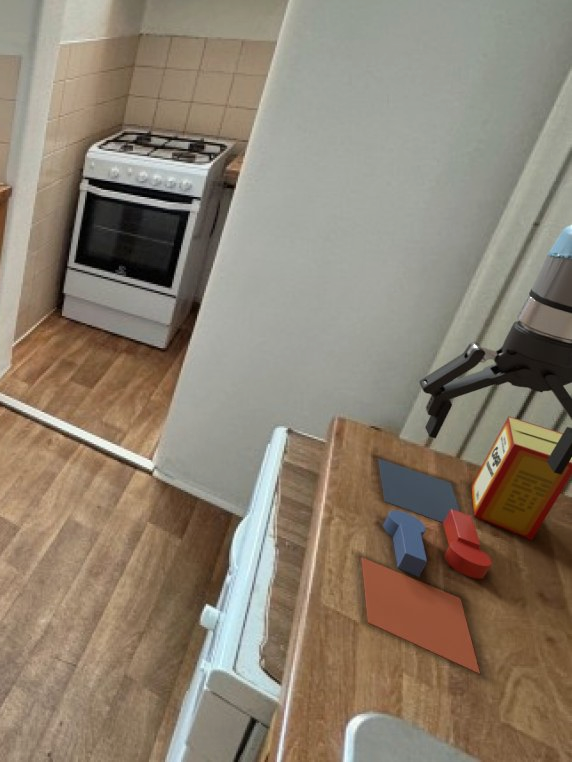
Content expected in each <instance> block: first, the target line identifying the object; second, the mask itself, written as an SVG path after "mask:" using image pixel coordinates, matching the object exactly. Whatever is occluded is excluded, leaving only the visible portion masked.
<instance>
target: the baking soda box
mask: <svg viewBox="0 0 572 762" xmlns="http://www.w3.org/2000/svg"><path fill="white" fill-rule="evenodd" d="M563 433H564V432H560V431H557V430H553V429H550V428H547V427H544V426H541V425H538V424H535V423H531V422H528V421H525V420H522V419H519V418H515V417H512V416H509V415H508V417H507V418H506V420H505V422H504V424H503V426H502V427H501V429H500V431H499V433H498V435H497V437H496V438H495V441H494V442H493V443H492V445H491V448H490V449H489V452H488V453H487V456H486V457H485V459H484V461H483V463H482V465H481V467H480V468H479V470H478V472H477V474H476V476H475V478H474V480H473V481H472V483H471V485H470V488H471V498H472V508H473V516H474V518H477V519H479V520H482V521H484V522H487V523H489V524H492V525H494V526H497V527H498V528H501V529H504V530H507V531H510V532H511V533H514V534H517V535H518V536H519V535H520V536H522V537H524V538H526V539H529V540H533V539H534V537H535V535H536V534H537V533H538V530H539V529H540V527H541V526H542V524H543V523H544V521H545V519H546V518H547V516H548V515H549V513H550V511H551V510H552V508H553V506H554V504H555V503H556V501H557V500H558V498H559V497H560V495H561V493H562V492H563V490H564V488H565V487H566V485H567V483H568V481H569V480H570V478H571V477H572V458H571V460H570V461H569V463H568V465H567V466H566V468H565V470H564V471H563V473H562V474H557V473H554V472H553V470H552V469H551V467H550V466H549V464H548V463H547V460H548V458H549V456H550V455H551V453H552V451H553V450H554V448H555V446H556V445H557V443H558V441H559V439H560V438H561V436H562V434H563Z"/></svg>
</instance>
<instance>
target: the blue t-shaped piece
mask: <svg viewBox="0 0 572 762" xmlns="http://www.w3.org/2000/svg"><path fill="white" fill-rule="evenodd" d="M382 525H383V526H382V527H383V529H384V531H385V532H386V533H387V534H388V535H389V536H391V537H392V542H393V548H394V554H395V559H396V566H397V569H399V570H400V571H403V572H405V573H408V574H410V575H413V576H416V577H418V578H420V576H421V574H422V572H423V570H424V569H425V566H426V565H427V563H428V558H427V555H426V550H425V545H424V541H423V537H424V534H425V532H426V531H427V527H426V525H425V524H424V523H423V522H422V521H421V520H420V519H419V518H418V517H416V516H414V515H412V514H410V513H408V512H405V511H402V510H398V509H397V510H395V509H393V510H390V511H389V512H388V514H387V516H386V518H385V520H384V522H383V524H382Z"/></svg>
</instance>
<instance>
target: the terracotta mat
mask: <svg viewBox="0 0 572 762" xmlns="http://www.w3.org/2000/svg"><path fill="white" fill-rule="evenodd" d="M361 567H362V568H361V569H362V578H363V586H364V596H365V608H366V616H367V624H370V625H372V626H374V627H376V628H379V629H380V630H383V631H385V632H386V633H390V635H391V634H392V635H394V636H396V637H398V638H400V639H402V640H404V641H407V642H409V643H411V644H413V645H415V646H416V647H417V646H418V647H420V648H422V649H424V650H425V651H429V652H431V653H433V654H435V655H437V656H439V657H441V658H443V659H446V660H448V661H450V662H453V663H454V664H456V665H458V666H461V667H463V668H465V669H468V670H470V671H472V672H474V673H476V674H479V675H481V671H480V668H479V664H478V660H477V657H476V652H475V648H474V645H473V640H472V636H471V634H470V629H469V626H468V620H467V618H466V614H465V610H464V606H463V603H462V599H461V597H458V596H455V595H454V594H451V593H448V592H446V591H444V590H442V589H439V588H436V587H434V586H432V585H430V584H427V583H424V582H423V581H420V580H418V579H415V578H412V577H410V576H407V575H405V574H403V573H400V572H398V571H396V570H393V569H391V568H389V567H386V566H384V565H381V564H379V563H376V562H374V561H371V560H369V559H367V558H364V557H361Z"/></svg>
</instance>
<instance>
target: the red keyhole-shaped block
mask: <svg viewBox="0 0 572 762" xmlns="http://www.w3.org/2000/svg"><path fill="white" fill-rule="evenodd" d="M442 524H443V528H444V532H445V536H446V541H447V542H448V548H447V549H446V551H445V553H444V555H443V559H444V560H445V563H446V564H448V565H449V567H450V568H452V569H454V570H455V571H457V572H458V573H460V574H462V575H465V577H466V576H467V577H469V578H473V579H478V580H479V579H484V578H485V576H486V574H487V572H488V571H489V569H490V568H491V567H492V564H493V562H492V559H491V557H490V556H489V555H488V554H487V553H485V552H484V551H483V550H482V549H480V548H481V542H480V538H479V536H478V532H477V530H476V527H475V523H474V520H473V516H472V515H470V514H467V513H464V512H461V511H460V512H458V511H456V510H453V509H451V510H450V512H449V513H448V515H447V517H446V519H445V521H444V523H442Z"/></svg>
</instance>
